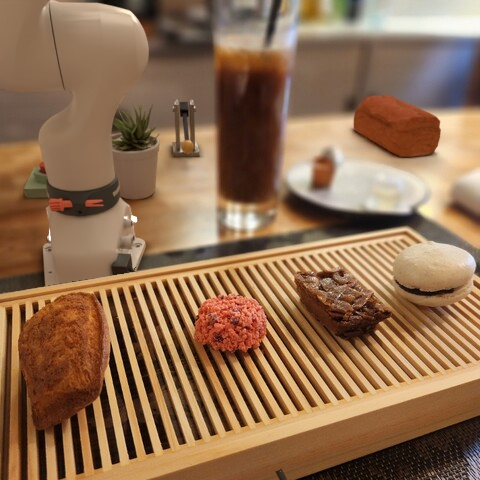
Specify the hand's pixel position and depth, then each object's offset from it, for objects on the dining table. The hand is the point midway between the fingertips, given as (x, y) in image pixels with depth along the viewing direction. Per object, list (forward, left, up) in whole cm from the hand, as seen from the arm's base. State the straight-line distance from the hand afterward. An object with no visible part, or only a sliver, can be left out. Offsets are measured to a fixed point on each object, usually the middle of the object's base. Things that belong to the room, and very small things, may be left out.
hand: (33, 84), depth 97 cm
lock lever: (+13, -32, -14) cm, 37 cm away
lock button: (-3, 0, -17) cm, 18 cm away
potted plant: (-8, -19, -21) cm, 30 cm away
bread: (+24, -95, -21) cm, 101 cm away
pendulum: (+18, -32, -21) cm, 42 cm away
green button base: (-3, 0, -21) cm, 21 cm away
